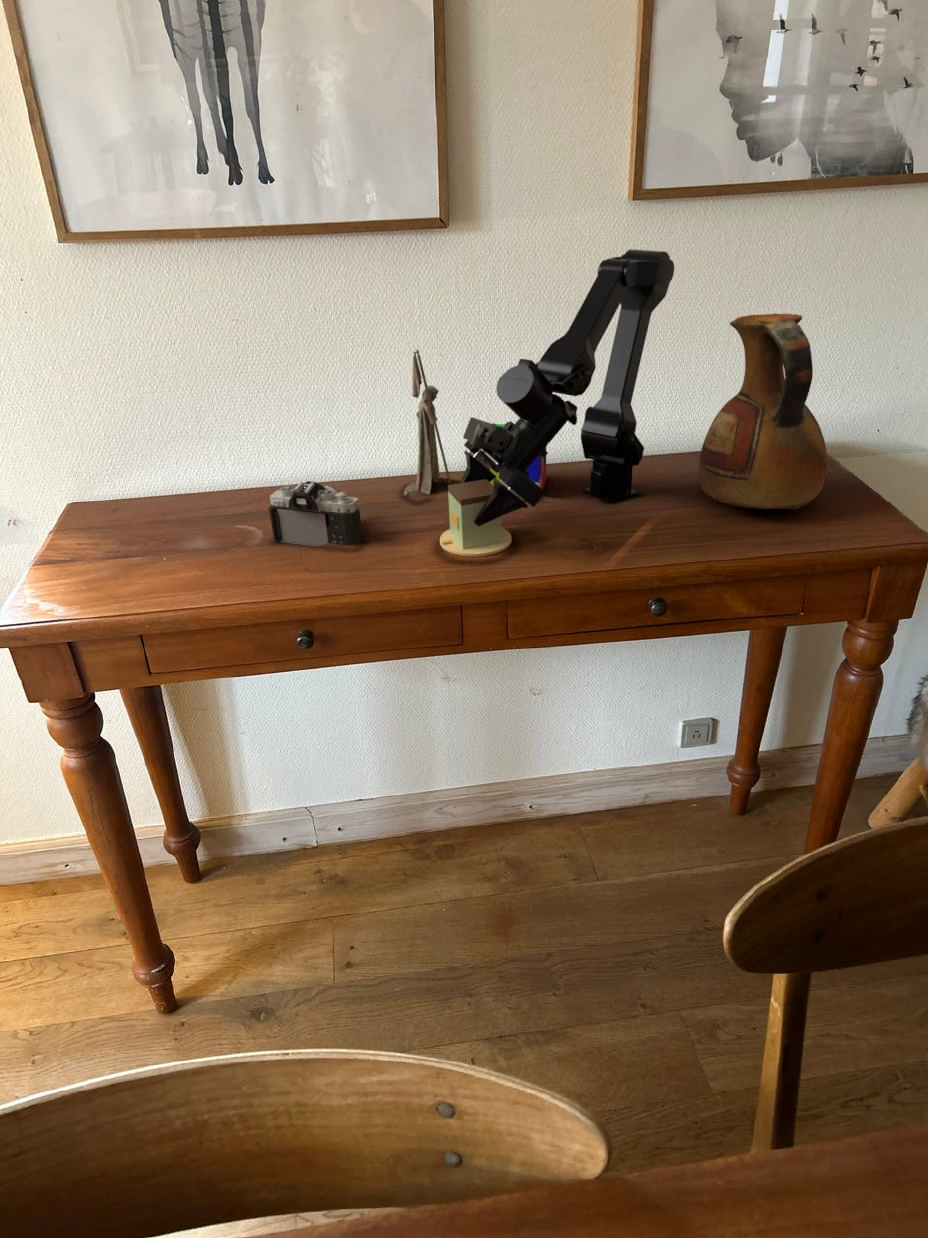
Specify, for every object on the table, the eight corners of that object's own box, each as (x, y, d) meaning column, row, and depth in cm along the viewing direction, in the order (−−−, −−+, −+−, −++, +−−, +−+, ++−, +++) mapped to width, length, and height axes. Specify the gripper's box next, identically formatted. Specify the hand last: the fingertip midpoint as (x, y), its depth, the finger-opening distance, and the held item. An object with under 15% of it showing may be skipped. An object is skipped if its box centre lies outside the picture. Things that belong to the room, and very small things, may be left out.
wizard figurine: (454, 500, 154) (447, 353, 141) (405, 504, 153) (393, 356, 141) (449, 479, 163) (442, 338, 150) (402, 482, 162) (391, 342, 150)
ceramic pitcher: (771, 472, 159) (796, 296, 144) (847, 514, 143) (884, 320, 128) (674, 489, 154) (689, 309, 139) (740, 534, 138) (766, 335, 123)
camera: (379, 531, 144) (374, 472, 139) (355, 555, 137) (349, 493, 132) (294, 521, 149) (285, 464, 144) (266, 544, 141) (257, 484, 136)
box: (496, 521, 143) (495, 471, 139) (522, 549, 134) (522, 496, 130) (431, 533, 140) (427, 482, 136) (452, 561, 131) (450, 508, 127)
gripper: (474, 382, 135) (409, 462, 138) (521, 416, 120) (447, 506, 122) (523, 425, 141) (459, 501, 144) (573, 463, 126) (501, 548, 129)
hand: (465, 512), depth 135 cm, fingers open, 9 cm apart
